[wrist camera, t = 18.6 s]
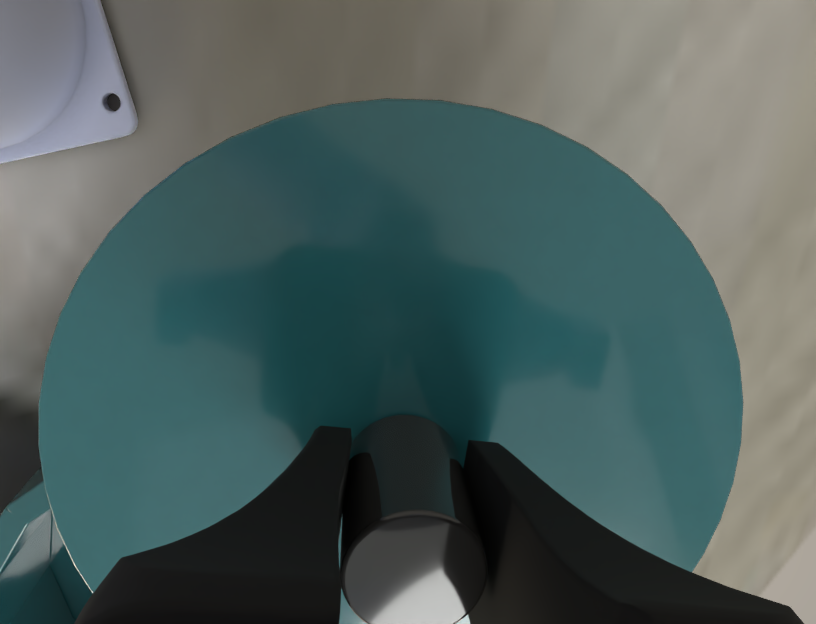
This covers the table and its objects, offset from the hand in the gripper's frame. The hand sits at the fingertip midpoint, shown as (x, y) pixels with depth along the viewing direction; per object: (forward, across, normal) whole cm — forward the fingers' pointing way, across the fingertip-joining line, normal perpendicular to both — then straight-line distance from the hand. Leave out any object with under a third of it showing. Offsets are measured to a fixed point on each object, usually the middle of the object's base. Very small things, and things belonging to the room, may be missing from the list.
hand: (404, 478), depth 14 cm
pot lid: (+1, 0, 0) cm, 1 cm away
